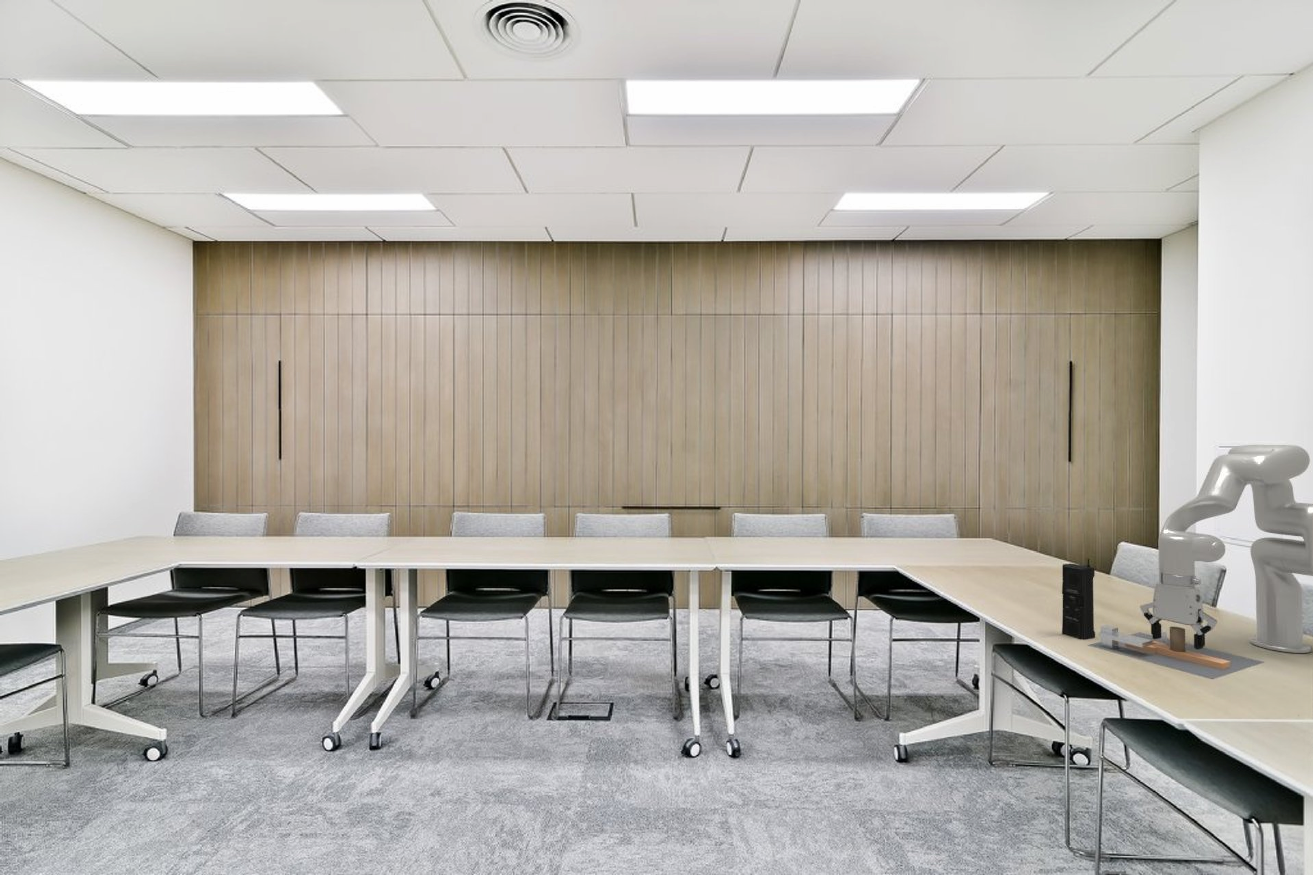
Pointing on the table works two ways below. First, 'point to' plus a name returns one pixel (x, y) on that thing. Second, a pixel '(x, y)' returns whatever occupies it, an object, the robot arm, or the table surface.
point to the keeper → (1120, 638)
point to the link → (1182, 650)
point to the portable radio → (1078, 601)
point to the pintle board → (1179, 664)
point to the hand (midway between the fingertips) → (1177, 643)
